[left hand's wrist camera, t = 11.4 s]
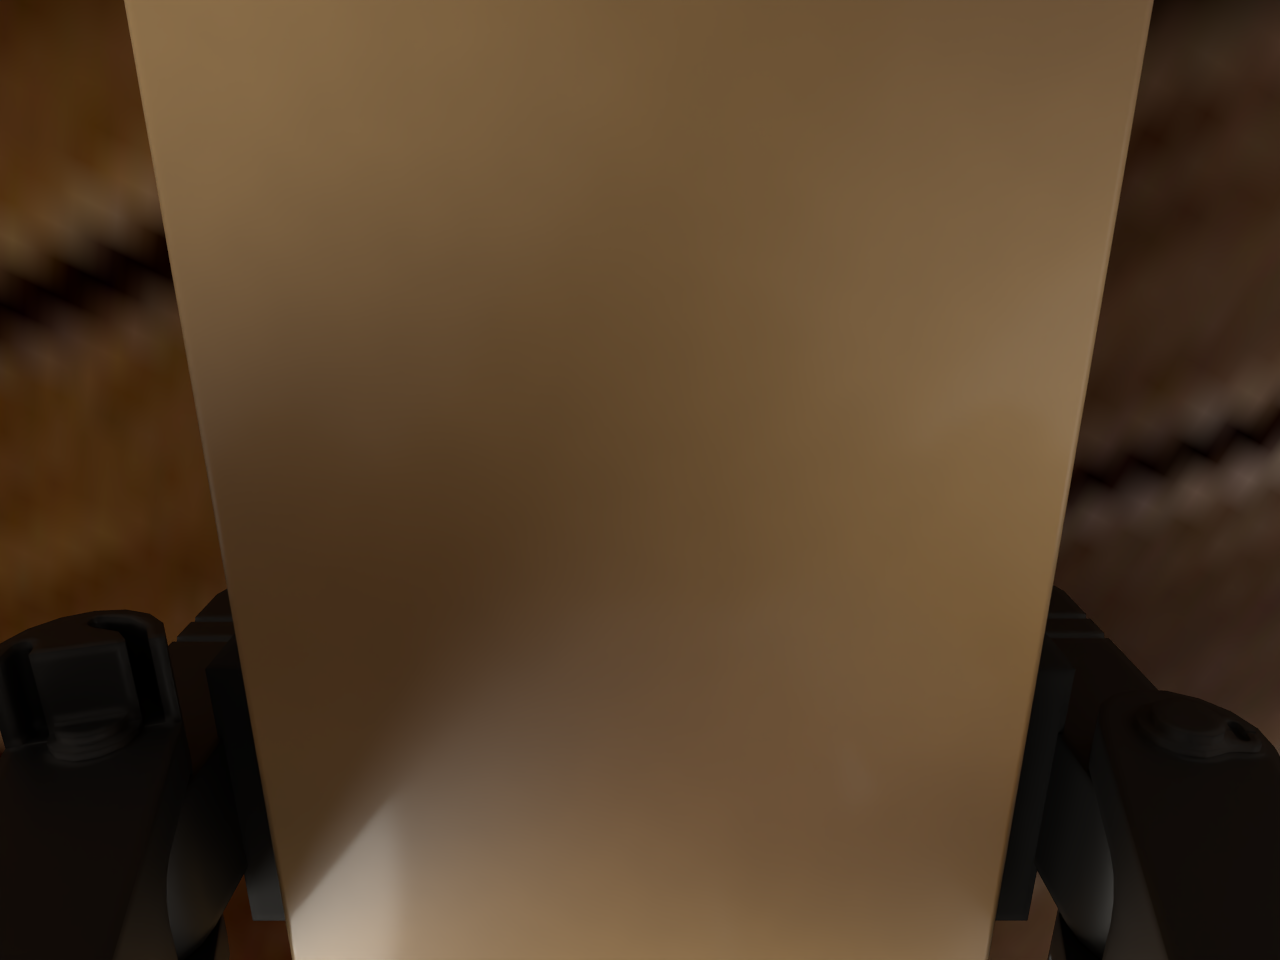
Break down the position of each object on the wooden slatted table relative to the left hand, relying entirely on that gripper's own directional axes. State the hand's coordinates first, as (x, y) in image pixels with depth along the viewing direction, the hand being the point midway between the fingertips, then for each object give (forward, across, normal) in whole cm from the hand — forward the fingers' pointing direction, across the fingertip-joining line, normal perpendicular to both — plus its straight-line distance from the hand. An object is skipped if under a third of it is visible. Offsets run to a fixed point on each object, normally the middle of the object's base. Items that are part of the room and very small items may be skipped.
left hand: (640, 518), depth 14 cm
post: (+1, 0, -22) cm, 22 cm away
